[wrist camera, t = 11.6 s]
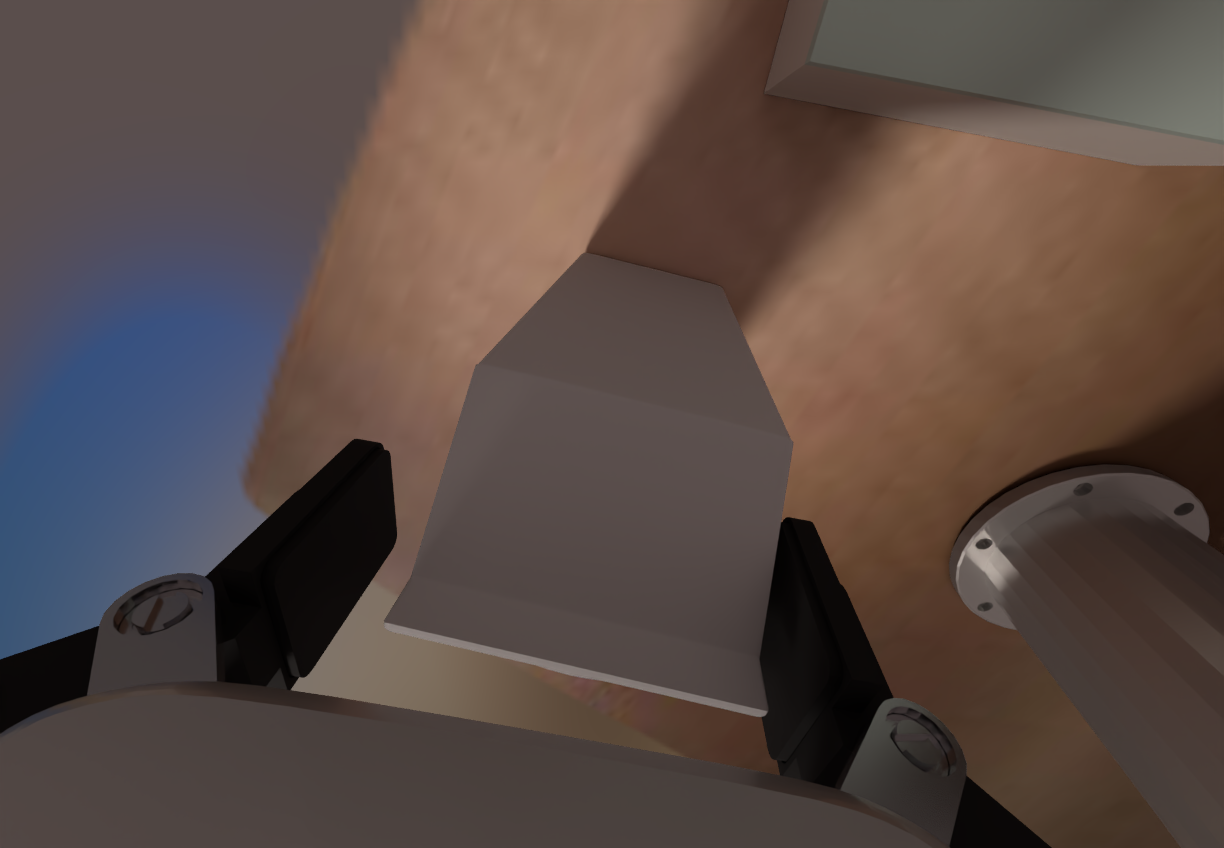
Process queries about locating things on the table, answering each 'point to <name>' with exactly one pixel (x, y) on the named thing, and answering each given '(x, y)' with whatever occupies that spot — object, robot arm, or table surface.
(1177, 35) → the box lid
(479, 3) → the table surface
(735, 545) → the milk carton
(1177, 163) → the pastry box
